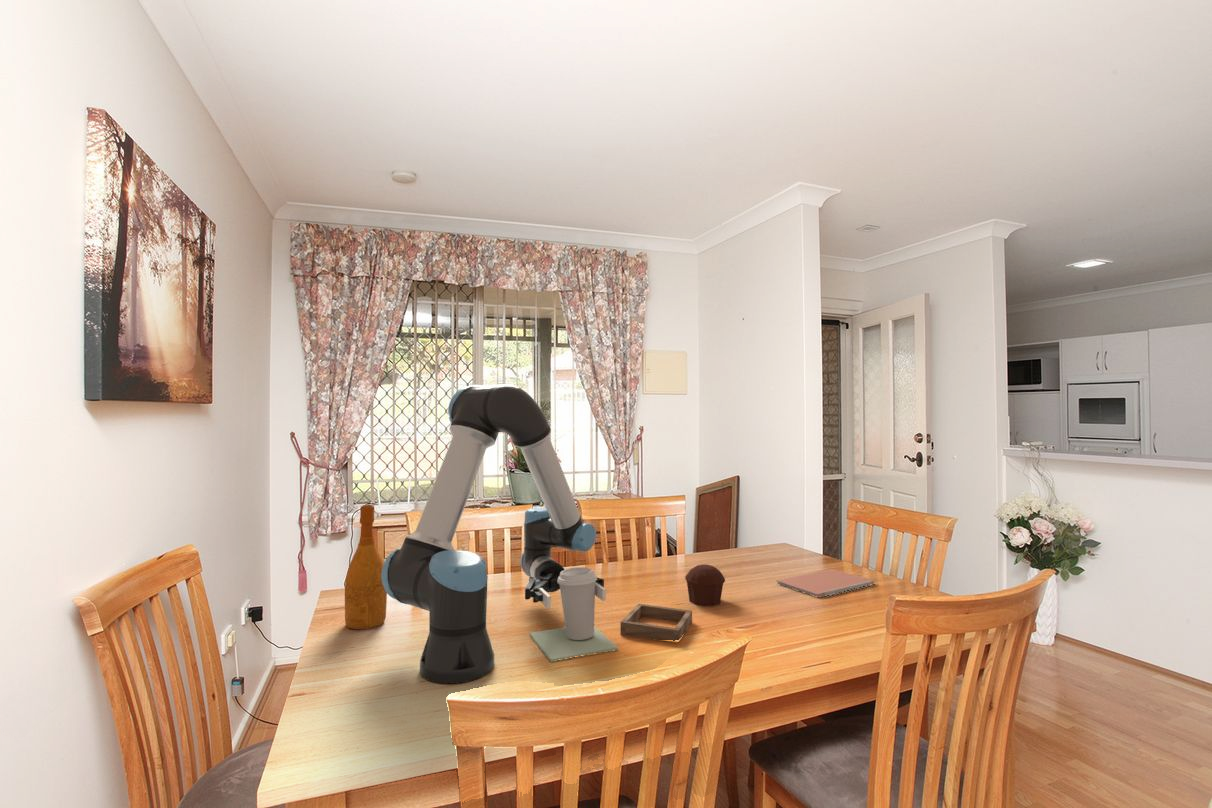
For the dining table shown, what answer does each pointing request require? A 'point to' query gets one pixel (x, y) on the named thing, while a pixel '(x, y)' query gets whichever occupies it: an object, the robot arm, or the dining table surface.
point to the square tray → (654, 631)
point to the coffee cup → (578, 601)
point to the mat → (570, 644)
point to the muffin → (705, 585)
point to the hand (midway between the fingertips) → (577, 598)
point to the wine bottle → (365, 580)
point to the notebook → (825, 582)
